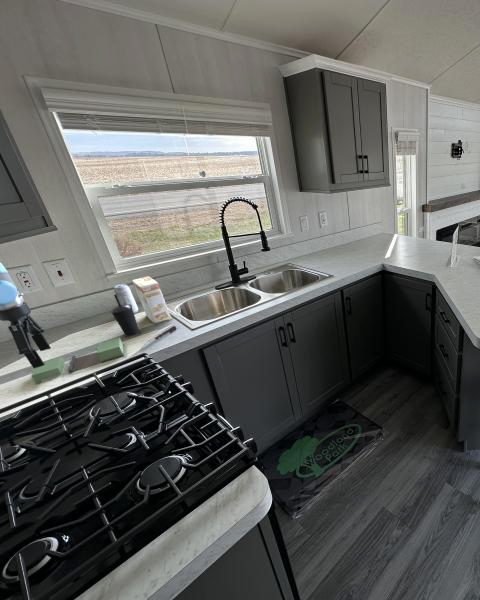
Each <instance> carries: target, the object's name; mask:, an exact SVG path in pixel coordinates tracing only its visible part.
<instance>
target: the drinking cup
mask: <svg viewBox="0 0 480 600" xmlns="http://www.w3.org/2000/svg"><path fill="white" fill-rule="evenodd" d="M113 297H114V298H115V301H116V303H117V305H116V306H114V307H112V308H111V309H110V310H109V313H111V314H112V316H113V317H114V319H115V321H116V322H117V324H118V326H119V328H120V329H121V330H122V332H123V334H124V335H125V336H126V337H131V336H134V335H137V334H139V333H140V328H139V326H138V323H137V322H138V321H137V319H136V316H135V313H134V312H133V309H132V305H130V304H123V305H120V302H119V300H118V298H117V296H116V294H114V295H113Z"/></svg>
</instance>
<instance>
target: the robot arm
mask: <svg viewBox="0 0 480 600" xmlns="http://www.w3.org/2000/svg"><path fill="white" fill-rule="evenodd" d="M31 312H32V309H31V308H30V307H29V305H28V303H27V302H25V299H24V293H21V292H20V291H19V289H18V287H17V286H16V283H15V282H14V280H13V279H12V277H11V275H10V274H9V271H8V270H7V268H6V267H5V266H4V265H3V264H2V262H0V321H1V322H10V325H8V326H7V329H8V331H10V333H11V336H12V338H13V340H14V343H15V345H16V348H17V350H18V354H19V355H24V356H25V358H26V359H27V361H28V362H29V364H30V365H31V367H32V368H33V369H34V368H37V367H41V366H44V365H45V364H44V362H45V361H43V359H42V358H41V356H40V355H39V353H38V352H37V350H36V349H35V348H34V347H33V344H32V341H31V338H32V340H33V342H34V344H35V345H36V347H37V348H38V349H39V351H40V352H43V351H46V350H50V349H51V345H50V343H48V341H47V339H46V338H45V335H44V334H43V333H45V329H43V328H42V327H41V326H40V325H39V324H38V322H37V321H36V320H35V319H34V318H33V317H32V316H31V315H30V314H31ZM30 335H31V337H30Z"/></svg>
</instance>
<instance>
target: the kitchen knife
mask: <svg viewBox="0 0 480 600" xmlns="http://www.w3.org/2000/svg"><path fill="white" fill-rule="evenodd" d="M175 330H177V327H176V325H173V326H171V327H170V328H168V329H166V330H165V331H163V332H162V333H161V334H159V335H157V336H156V337H155V338H152V340H150V341H149V342H147V343H145V344H144V345H143V346H142V347H141V349H144V348H145V347H147V346H148V345H150V344H151V343H152V342H154V341H156V340H158V339H160V338H162V337H163V336H165V335H166V334H168V333H169V334H170V333H172V332H174V331H175Z"/></svg>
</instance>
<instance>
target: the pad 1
mask: <svg viewBox="0 0 480 600" xmlns="http://www.w3.org/2000/svg"><path fill="white" fill-rule="evenodd" d="M43 362H44V364H45V365H44V366H41V367H37V368H33V370H32V372H31V374H30V375H31V378H32V380H33V382H34V383H35V384H36V385H38V384H41V383H43V381H45V380H47V379H51V378H54V377H57V376H60V375H62V374H63V370H64V367H65V361H64V358H62V356H59V357H56V358H52V359H48V360H46V361H43Z"/></svg>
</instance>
